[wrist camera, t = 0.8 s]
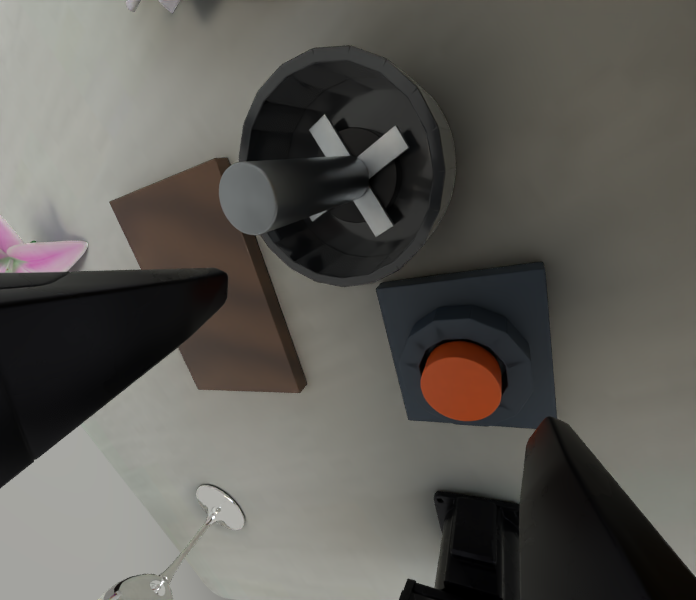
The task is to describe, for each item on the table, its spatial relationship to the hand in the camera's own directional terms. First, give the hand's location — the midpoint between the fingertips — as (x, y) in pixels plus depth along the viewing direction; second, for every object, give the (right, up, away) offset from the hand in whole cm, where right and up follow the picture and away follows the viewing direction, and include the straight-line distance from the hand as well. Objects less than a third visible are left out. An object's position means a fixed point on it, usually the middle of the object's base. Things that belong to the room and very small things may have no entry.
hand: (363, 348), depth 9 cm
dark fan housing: (+1, +8, +10) cm, 13 cm away
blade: (0, +8, +10) cm, 13 cm away
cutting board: (-11, +2, +19) cm, 22 cm away
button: (+6, -3, +10) cm, 12 cm away
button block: (+7, -2, +12) cm, 14 cm away
